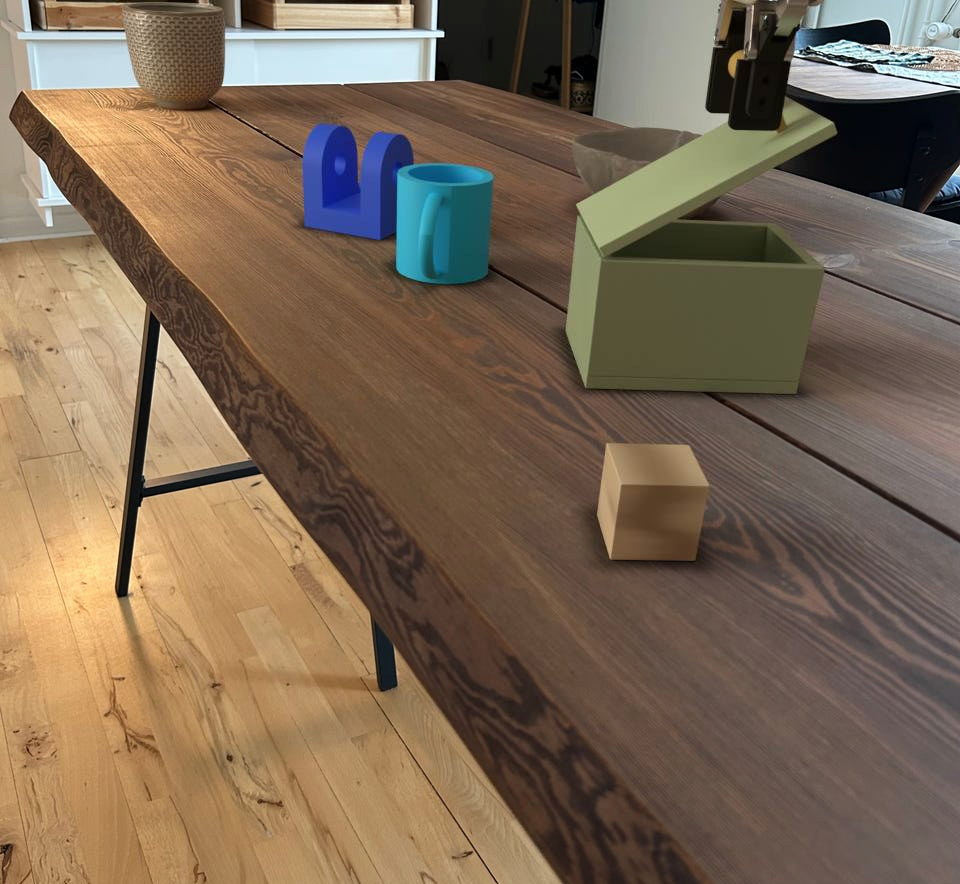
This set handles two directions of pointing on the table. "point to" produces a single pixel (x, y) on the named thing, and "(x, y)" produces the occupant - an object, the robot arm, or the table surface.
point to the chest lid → (697, 174)
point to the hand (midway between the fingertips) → (740, 117)
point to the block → (651, 502)
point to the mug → (443, 222)
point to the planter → (176, 51)
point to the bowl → (626, 155)
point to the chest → (693, 309)
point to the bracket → (352, 181)
